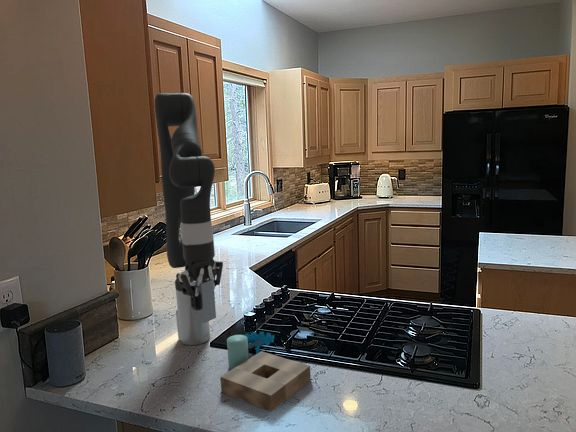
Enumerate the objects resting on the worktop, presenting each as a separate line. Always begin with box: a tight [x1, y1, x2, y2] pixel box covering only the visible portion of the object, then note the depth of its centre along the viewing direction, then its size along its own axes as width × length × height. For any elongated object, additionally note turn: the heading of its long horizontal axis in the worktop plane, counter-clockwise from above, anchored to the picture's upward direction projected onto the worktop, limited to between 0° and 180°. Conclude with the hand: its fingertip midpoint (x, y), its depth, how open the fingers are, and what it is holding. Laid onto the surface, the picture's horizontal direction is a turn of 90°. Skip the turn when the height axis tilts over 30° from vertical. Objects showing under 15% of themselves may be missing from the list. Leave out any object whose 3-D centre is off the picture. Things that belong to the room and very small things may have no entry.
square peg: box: [192, 279, 217, 323], centre depth 116 cm, size 4×4×10 cm
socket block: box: [220, 350, 311, 412], centre depth 117 cm, size 16×16×4 cm
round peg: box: [226, 334, 250, 371], centre depth 128 cm, size 6×6×8 cm
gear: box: [243, 331, 275, 355], centre depth 135 cm, size 11×6×10 cm
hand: (203, 306), depth 116 cm, fingers closed on square peg, 4 cm apart
